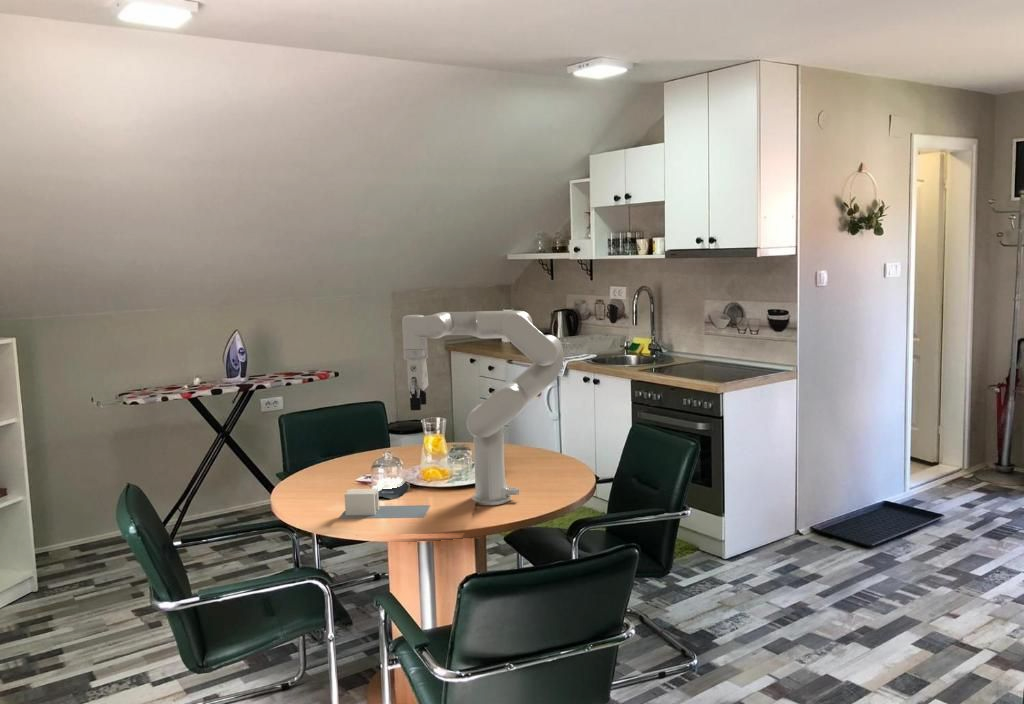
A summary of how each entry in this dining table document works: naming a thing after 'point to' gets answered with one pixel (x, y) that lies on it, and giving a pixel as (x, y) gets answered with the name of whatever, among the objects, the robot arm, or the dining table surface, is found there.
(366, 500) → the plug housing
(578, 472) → the dining table surface
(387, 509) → the header board
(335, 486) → the dining table surface
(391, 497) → the electronic device
